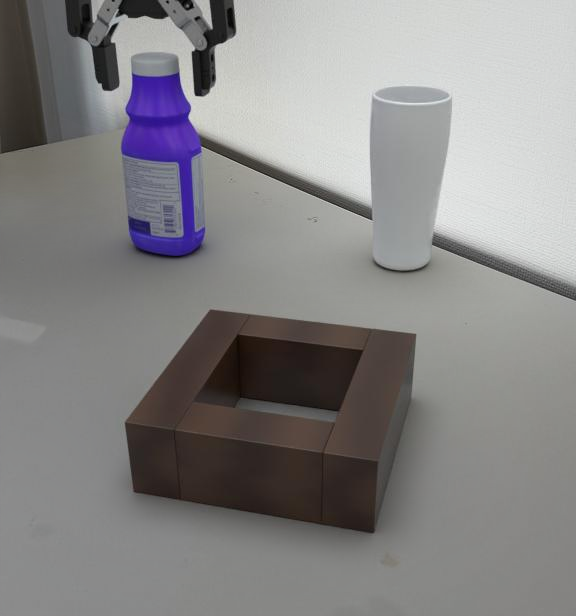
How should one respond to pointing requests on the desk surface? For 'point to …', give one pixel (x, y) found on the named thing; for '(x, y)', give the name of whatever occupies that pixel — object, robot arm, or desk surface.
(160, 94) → the bottle
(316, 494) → the frame
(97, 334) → the desk surface
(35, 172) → the desk surface
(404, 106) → the drinking glass
